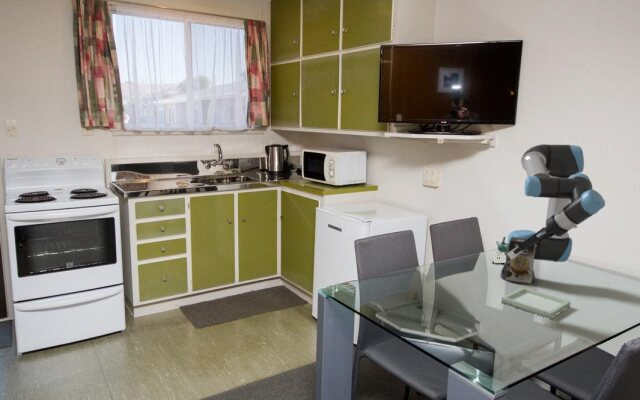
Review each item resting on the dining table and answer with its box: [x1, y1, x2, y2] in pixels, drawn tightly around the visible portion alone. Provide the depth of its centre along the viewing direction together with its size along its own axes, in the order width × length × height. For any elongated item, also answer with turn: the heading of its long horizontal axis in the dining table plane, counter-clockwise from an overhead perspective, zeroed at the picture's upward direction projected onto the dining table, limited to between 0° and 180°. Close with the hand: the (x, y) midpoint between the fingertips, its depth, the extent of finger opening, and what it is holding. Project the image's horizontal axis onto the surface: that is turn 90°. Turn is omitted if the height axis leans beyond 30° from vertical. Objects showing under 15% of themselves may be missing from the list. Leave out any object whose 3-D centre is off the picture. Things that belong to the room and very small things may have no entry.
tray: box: [500, 287, 571, 320], centre depth 190 cm, size 20×18×2 cm
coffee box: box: [505, 237, 536, 284], centre depth 179 cm, size 9×6×16 cm
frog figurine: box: [495, 236, 508, 259], centre depth 244 cm, size 10×18×15 cm, turn 126°
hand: (515, 254), depth 181 cm, fingers closed on coffee box, 9 cm apart
